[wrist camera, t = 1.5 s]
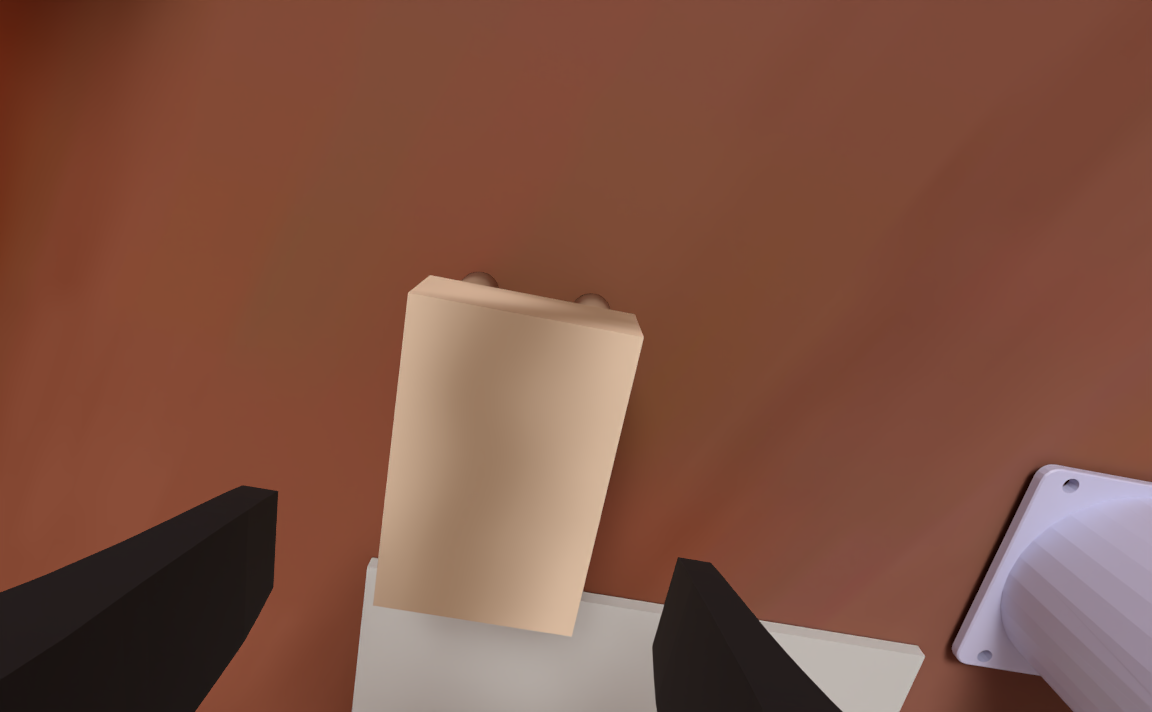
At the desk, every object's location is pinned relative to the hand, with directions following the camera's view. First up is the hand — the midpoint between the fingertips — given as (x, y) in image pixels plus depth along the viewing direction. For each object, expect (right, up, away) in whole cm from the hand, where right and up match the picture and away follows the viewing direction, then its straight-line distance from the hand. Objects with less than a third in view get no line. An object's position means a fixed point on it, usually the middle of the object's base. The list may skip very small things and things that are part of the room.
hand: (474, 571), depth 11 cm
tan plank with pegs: (0, +3, +8) cm, 9 cm away
